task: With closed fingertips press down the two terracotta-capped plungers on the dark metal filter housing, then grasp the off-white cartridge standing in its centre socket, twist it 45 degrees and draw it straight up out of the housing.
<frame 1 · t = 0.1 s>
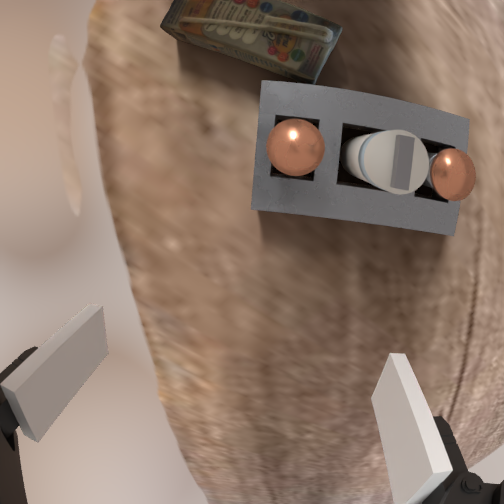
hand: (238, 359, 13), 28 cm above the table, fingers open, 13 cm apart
plunger 1: (295, 147, 31), point 6 cm above the table, slide at 0.0 cm
housing: (360, 156, 36), on the table
cartridge: (360, 156, 36), resting in housing
beverage carton: (254, 36, 33), on the table
plunger 2: (441, 172, 29), point 6 cm above the table, slide at 0.0 cm
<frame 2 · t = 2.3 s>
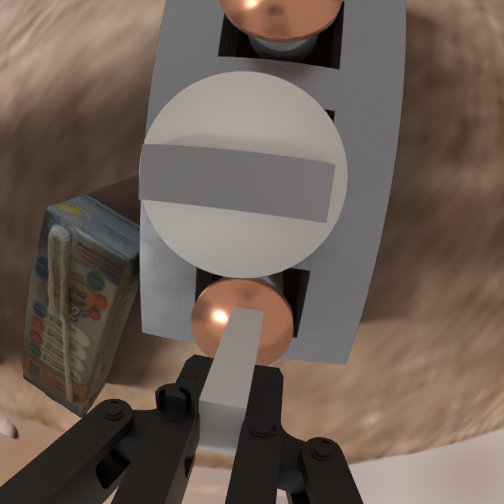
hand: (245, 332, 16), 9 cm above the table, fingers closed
plunger 1: (248, 299, 19), point 5 cm above the table, slide at 1.3 cm, touching gripper
housing: (270, 159, 21), on the table
cartridge: (270, 159, 22), resting in housing
beverage carton: (95, 301, 27), on the table
plunger 2: (281, 15, 13), point 6 cm above the table, slide at 0.0 cm
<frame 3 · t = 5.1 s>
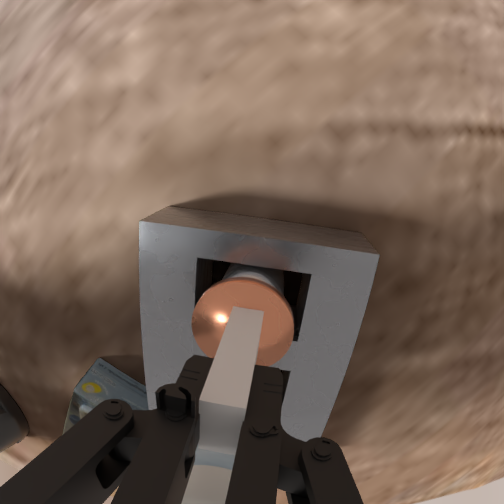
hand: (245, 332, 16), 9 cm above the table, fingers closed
housing: (245, 358, 26), on the table
cartridge: (245, 358, 26), resting in housing
beverage carton: (111, 417, 32), on the table
plunger 2: (249, 301, 19), point 5 cm above the table, slide at 1.5 cm, touching gripper
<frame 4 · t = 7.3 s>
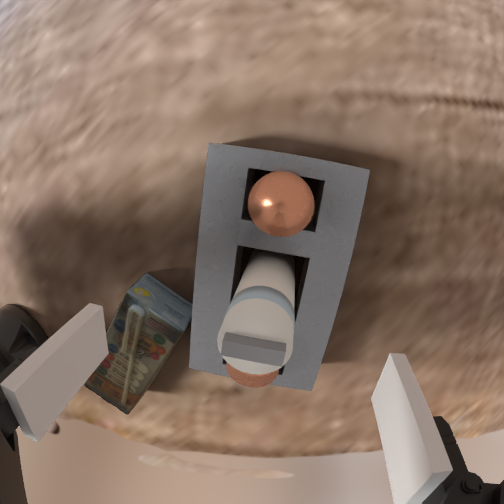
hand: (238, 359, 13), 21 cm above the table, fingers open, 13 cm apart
plunger 1: (256, 348, 33), point 4 cm above the table, slide at 2.3 cm
housing: (271, 266, 35), on the table
cartridge: (271, 266, 35), resting in housing
beverage carton: (144, 337, 41), on the table
plunger 2: (282, 198, 28), point 4 cm above the table, slide at 2.3 cm
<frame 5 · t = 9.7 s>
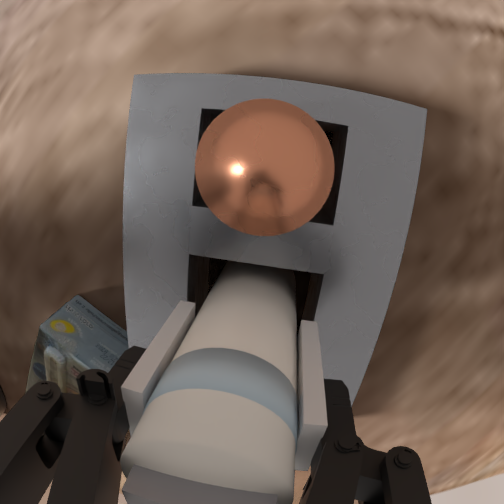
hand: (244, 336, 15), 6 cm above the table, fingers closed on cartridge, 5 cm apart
housing: (257, 285, 21), on the table
cartridge: (257, 284, 21), resting in housing, touching gripper
beverage carton: (87, 378, 27), on the table
plunger 2: (269, 164, 15), point 4 cm above the table, slide at 2.3 cm
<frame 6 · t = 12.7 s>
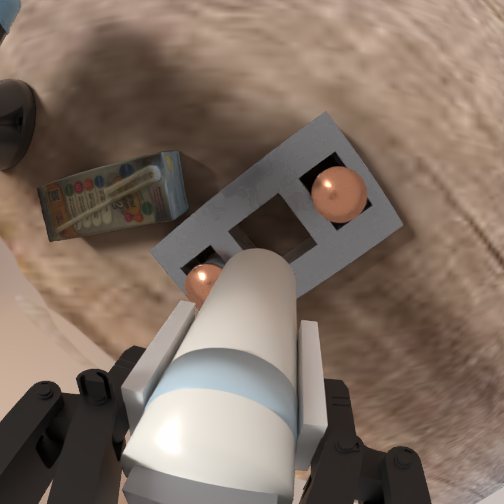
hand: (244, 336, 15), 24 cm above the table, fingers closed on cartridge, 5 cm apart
plunger 1: (215, 277, 36), point 4 cm above the table, slide at 2.3 cm
housing: (275, 226, 38), on the table
cartridge: (257, 284, 21), point 18 cm above the table, touching gripper
beverage carton: (120, 193, 39), on the table
plunger 2: (335, 190, 32), point 4 cm above the table, slide at 2.3 cm
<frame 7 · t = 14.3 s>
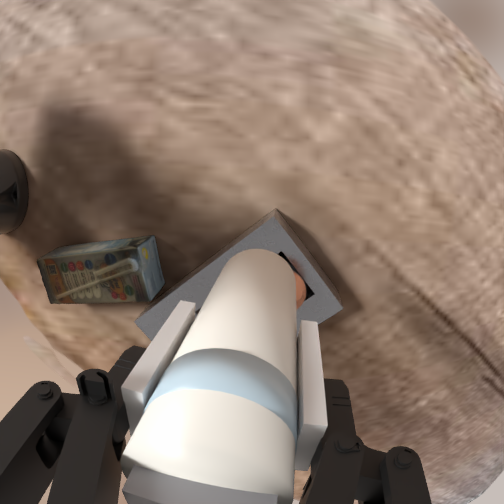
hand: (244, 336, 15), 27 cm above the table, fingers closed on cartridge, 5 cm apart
housing: (237, 300, 45), on the table
cartridge: (257, 285, 21), point 20 cm above the table, touching gripper
beverage carton: (108, 264, 46), on the table
plunger 2: (283, 281, 38), point 4 cm above the table, slide at 2.3 cm
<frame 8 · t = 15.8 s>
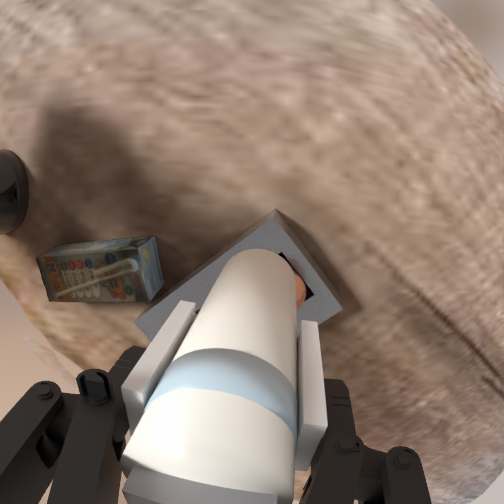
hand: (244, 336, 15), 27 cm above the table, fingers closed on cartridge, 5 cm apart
housing: (237, 301, 45), on the table
cartridge: (257, 285, 21), point 20 cm above the table, touching gripper
beverage carton: (107, 263, 46), on the table
plunger 2: (282, 281, 39), point 4 cm above the table, slide at 2.3 cm
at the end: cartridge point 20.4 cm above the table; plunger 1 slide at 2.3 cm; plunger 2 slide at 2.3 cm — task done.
